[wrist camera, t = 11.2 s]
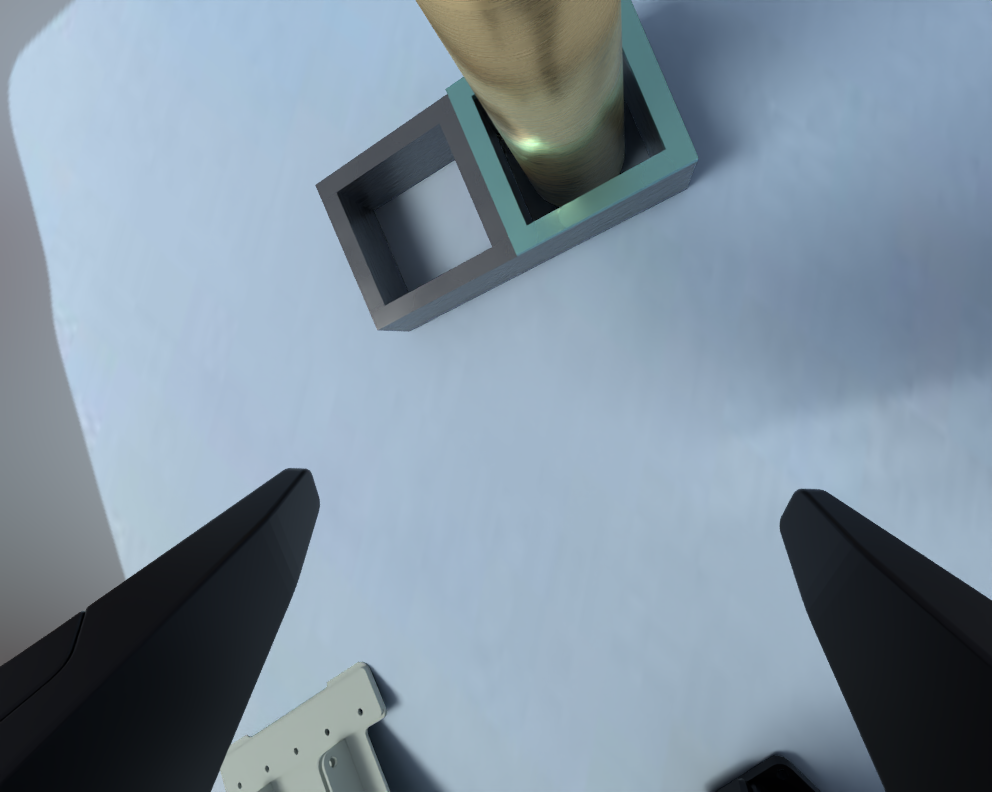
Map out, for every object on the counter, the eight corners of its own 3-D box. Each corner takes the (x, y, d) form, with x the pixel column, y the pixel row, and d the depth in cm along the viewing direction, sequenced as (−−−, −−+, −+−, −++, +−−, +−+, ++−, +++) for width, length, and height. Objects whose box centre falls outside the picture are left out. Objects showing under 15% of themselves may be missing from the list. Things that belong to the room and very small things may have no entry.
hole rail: (619, 32, 19) (617, -31, 15) (687, 188, 18) (698, 157, 15) (354, 204, 23) (310, 182, 20) (409, 331, 23) (373, 330, 20)
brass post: (645, 160, 19) (675, -182, 6) (563, 228, 20) (457, 50, 8) (586, 83, 19) (506, -388, 7) (509, 154, 20) (323, -130, 8)
